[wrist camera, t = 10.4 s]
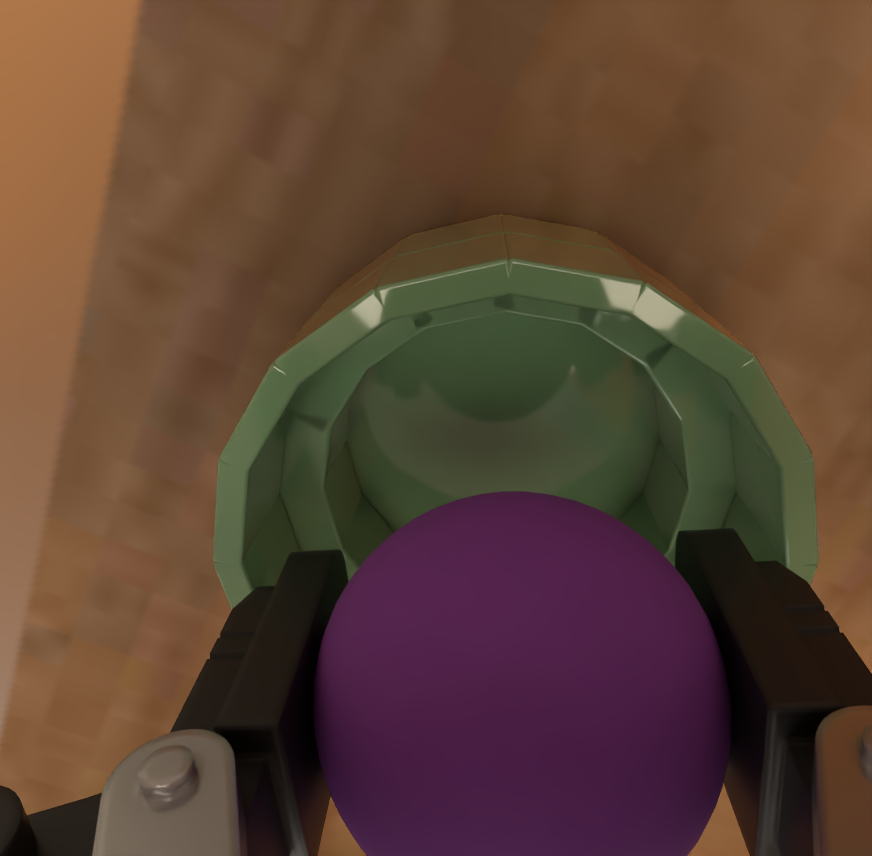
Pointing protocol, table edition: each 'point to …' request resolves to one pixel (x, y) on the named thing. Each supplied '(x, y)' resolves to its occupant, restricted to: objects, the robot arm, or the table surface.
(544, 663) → the ball
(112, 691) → the table surface
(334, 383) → the bowl
